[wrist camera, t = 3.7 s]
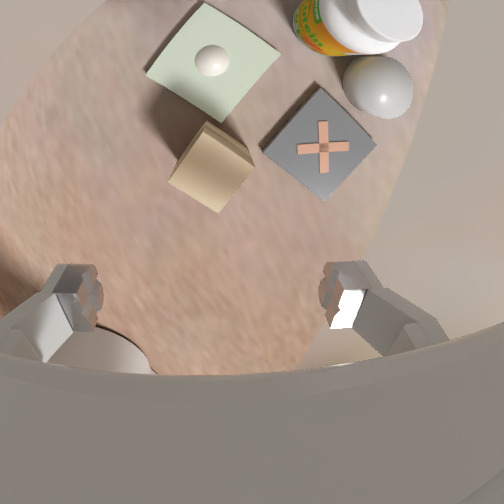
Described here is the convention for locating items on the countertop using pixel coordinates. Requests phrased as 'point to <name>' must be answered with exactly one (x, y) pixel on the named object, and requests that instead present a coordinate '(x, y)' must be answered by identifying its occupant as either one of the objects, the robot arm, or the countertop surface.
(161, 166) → the countertop surface
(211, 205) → the block
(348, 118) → the pad
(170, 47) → the pad
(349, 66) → the light grey dome
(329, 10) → the supplement bottle
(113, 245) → the countertop surface
